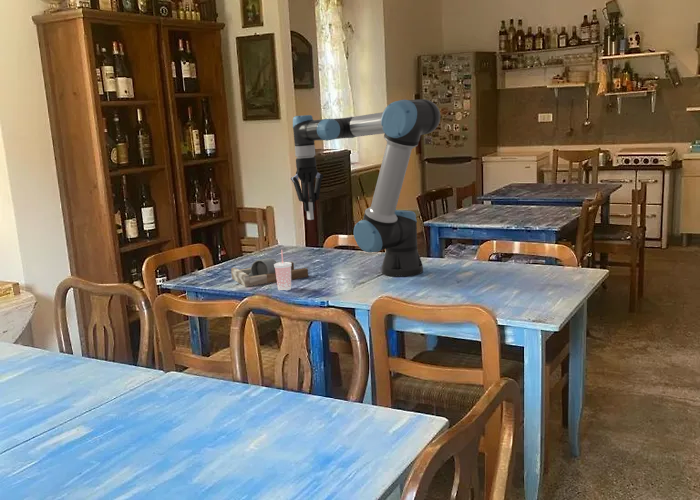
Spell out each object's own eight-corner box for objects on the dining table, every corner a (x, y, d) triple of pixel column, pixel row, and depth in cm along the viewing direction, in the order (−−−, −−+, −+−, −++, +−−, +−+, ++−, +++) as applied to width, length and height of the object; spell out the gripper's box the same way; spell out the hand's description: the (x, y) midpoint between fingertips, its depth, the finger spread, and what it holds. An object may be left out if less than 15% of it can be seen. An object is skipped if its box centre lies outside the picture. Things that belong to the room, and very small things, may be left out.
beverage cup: (290, 291, 244) (287, 251, 242) (273, 291, 246) (270, 251, 243) (295, 286, 250) (292, 247, 248) (278, 286, 251) (275, 247, 249)
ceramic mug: (280, 276, 267) (278, 256, 265) (269, 281, 260) (267, 260, 258) (256, 275, 271) (254, 256, 270) (244, 280, 264) (242, 260, 263)
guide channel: (308, 276, 264) (307, 266, 264) (245, 286, 254) (244, 275, 253) (292, 269, 279) (291, 259, 278) (232, 278, 268) (231, 268, 268)
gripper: (316, 155, 274) (321, 216, 279) (285, 158, 268) (290, 220, 272) (325, 155, 268) (330, 218, 272) (294, 158, 262) (299, 222, 266)
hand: (310, 219), depth 272 cm, fingers closed
